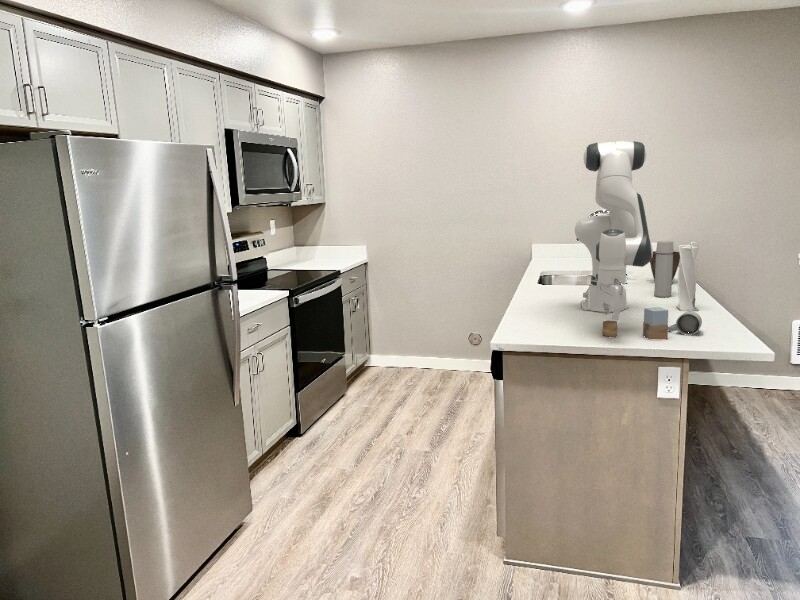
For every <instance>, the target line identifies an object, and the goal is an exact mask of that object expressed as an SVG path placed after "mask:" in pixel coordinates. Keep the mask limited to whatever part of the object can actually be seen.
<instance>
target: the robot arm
mask: <svg viewBox="0 0 800 600" xmlns="http://www.w3.org/2000/svg"><path fill="white" fill-rule="evenodd" d="M646 159H647V150H646V148H645V145H644V144H643V142H641V141H636V140H634V141H626V140H615V141H607V142H599V143H598V142H594V143H590V144H588V145H587V146H586V149H585V150H584V153H583V164H584V166H585V169H587V170H588V171H591V172H597V175H596V185H595V195H594V196H595V197H594V199H595V200H594V201H595V202H596V204H597V205H598V206H599V207H600V208H603V210H607V211H609V214H607V215H590V216H585V217H582V218H579V219H578V220H577V222H576V224H575V226H574V235H575V237H576V238H577V240H579V242H581V243H582V244H583V245H584V246H585V247H586V248H587V249H588V251H589V253H590V256H591V257H590V258H591V262H592V263H591V266H592V269H591V270H592V272H591V273H592V275H591V276H590V277H591V278H590V285H589V286H588V288H587V289H586V291H585V292H583V293H582V298H583V299H585V300H580V306H581V309H582V310H584V311H593V312H603V313H602V314H604V315H605V316H608V315H610V314H611V313H612V312H613V313H612V314H611V319H612V321H619V319H620V314H621V312H622V311H623V310H626V309H629V305H627V288H626V286H625V285H624V284H625V283H626V276H627V275H626V273H627V272H626V270H627V266H633V267H641V268H643V267H646V265H648V264H650V261H651V260H652V257H653V251H654V249H653V245H652V242H651V239H650V235H649V228H648V223H647V216H646V212H645V211H646V210H645V206H644V202H643V198H642V196H641V194H640V193H639V192H636V191H635V189H634V187H633V181H632V180H633V174H632V173H633V172H632V171H637V170H640V169H641V168H642V167H643V166H644V163H645V161H646Z"/></svg>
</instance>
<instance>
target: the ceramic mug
mask: <svg viewBox="0 0 800 600" xmlns="http://www.w3.org/2000/svg"><path fill="white" fill-rule="evenodd" d="M702 323H703V321H702V317H701V316H700V314H699V313H697V311H684V312H683V313H682V314H681V315H679V316H678V317H677V319H676V322H675V323H674V324H672V325H671V324H670V325H668V332H669V331H670V332H675V331H678V332H679V333H680V334H682V335H684V334H686V335H685V336H693V335H695V334H697V333H698V332H699V331H700V328H701V326H702V325H703V324H702ZM688 332H689V333H688Z"/></svg>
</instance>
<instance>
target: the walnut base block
mask: <svg viewBox="0 0 800 600" xmlns="http://www.w3.org/2000/svg"><path fill="white" fill-rule="evenodd" d="M642 325H643V326H642V336H643V337H644V336H645V337H644V338H646V339H647V338H648V339H647V340H649V339H665V340H668V335H669V330H668V327H669V324H668V325H657V326H651V325H649V324H647V323H644V321H642Z"/></svg>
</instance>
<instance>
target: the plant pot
mask: <svg viewBox="0 0 800 600" xmlns="http://www.w3.org/2000/svg"><path fill="white" fill-rule="evenodd" d="M655 252H657V251H656V250H655V251H654V250H653V257H652V260H651V261H650V262H649V266H650V269H651V273H652V278H653V280H654V281H655V266H656V254H657V253H655ZM672 254H673V268H672V282H674V279H675V277H676V274H677V270H678V269H679V265H680V261H681V259H680V253H679V251H675V250H674V251H673V253H672Z"/></svg>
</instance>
